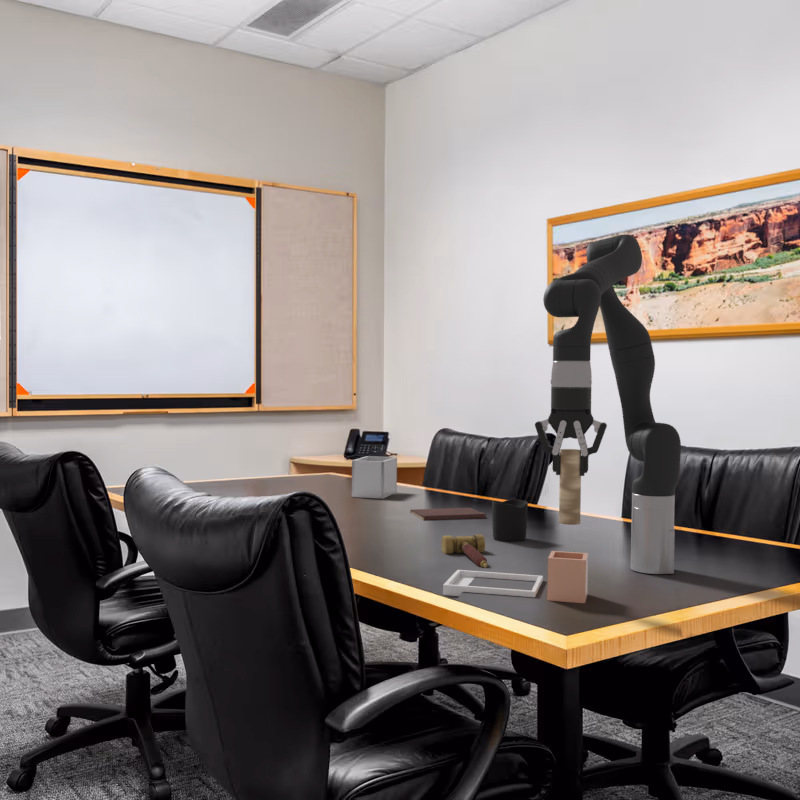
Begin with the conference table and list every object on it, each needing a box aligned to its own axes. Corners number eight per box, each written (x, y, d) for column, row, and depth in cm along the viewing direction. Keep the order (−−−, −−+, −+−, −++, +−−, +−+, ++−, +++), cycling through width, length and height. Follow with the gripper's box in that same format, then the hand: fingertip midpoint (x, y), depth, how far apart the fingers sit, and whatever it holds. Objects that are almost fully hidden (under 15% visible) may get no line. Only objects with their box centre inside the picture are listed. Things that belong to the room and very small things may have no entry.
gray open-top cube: (396, 492, 320) (397, 457, 319) (383, 498, 303) (383, 461, 302) (366, 490, 323) (367, 456, 322) (351, 497, 306) (352, 460, 305)
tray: (542, 585, 179) (542, 575, 179) (534, 602, 165) (535, 591, 165) (457, 579, 183) (457, 569, 183) (443, 594, 170) (443, 584, 170)
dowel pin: (580, 521, 166) (581, 449, 166) (579, 525, 163) (580, 451, 162) (559, 520, 167) (560, 448, 167) (558, 524, 164) (559, 450, 163)
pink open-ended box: (587, 599, 168) (588, 553, 168) (585, 608, 161) (585, 560, 161) (550, 596, 170) (551, 550, 170) (547, 605, 163) (548, 557, 163)
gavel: (507, 555, 194) (464, 556, 192) (506, 575, 195) (464, 576, 193) (480, 532, 215) (441, 533, 213) (479, 550, 215) (440, 551, 213)
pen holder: (526, 543, 224) (526, 505, 224) (489, 541, 226) (490, 503, 226) (528, 536, 233) (528, 500, 233) (493, 535, 235) (493, 498, 235)
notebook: (410, 514, 273) (410, 508, 272) (469, 512, 278) (469, 506, 277) (423, 522, 258) (423, 515, 258) (485, 520, 263) (485, 513, 263)
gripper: (610, 385, 166) (609, 474, 166) (535, 384, 170) (534, 471, 170) (609, 385, 159) (607, 478, 159) (531, 385, 163) (530, 475, 163)
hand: (570, 474), depth 165 cm, fingers closed on dowel pin, 4 cm apart
